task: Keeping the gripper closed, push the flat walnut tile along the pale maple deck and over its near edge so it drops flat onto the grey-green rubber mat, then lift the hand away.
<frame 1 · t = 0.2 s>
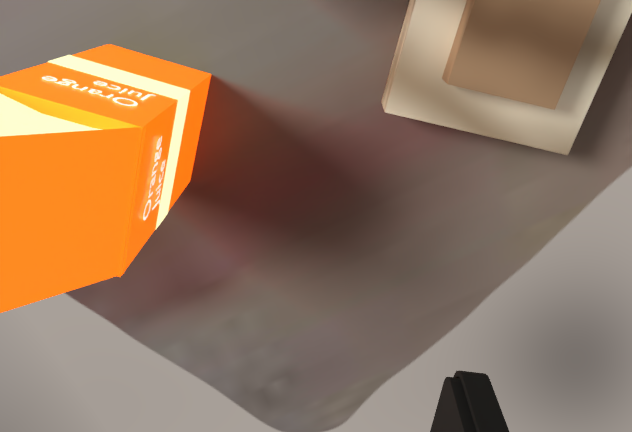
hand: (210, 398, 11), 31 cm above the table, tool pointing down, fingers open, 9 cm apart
tile: (518, 19, 33), point 3 cm above the table, touching deck
orange juice: (152, 115, 40), on the table
deck: (507, 8, 35), on the table
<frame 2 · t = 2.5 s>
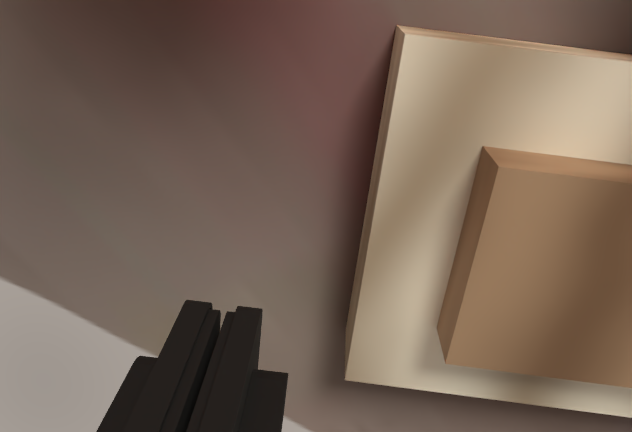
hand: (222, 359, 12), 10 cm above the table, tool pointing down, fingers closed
tile: (589, 261, 18), point 3 cm above the table, touching deck
deck: (568, 223, 21), on the table
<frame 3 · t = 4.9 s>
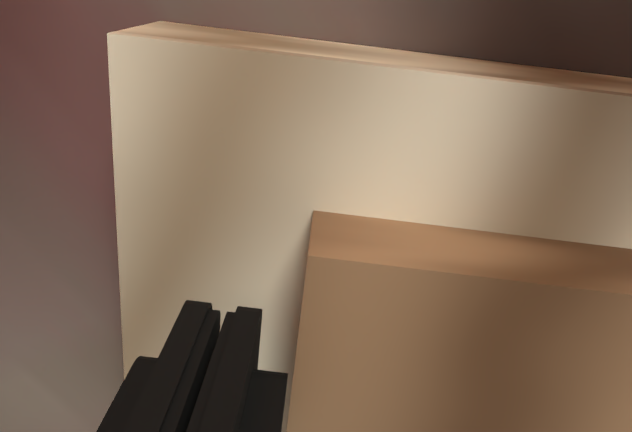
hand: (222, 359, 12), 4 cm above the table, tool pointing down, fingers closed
tile: (484, 367, 13), point 3 cm above the table, touching deck, gripper
deck: (435, 289, 15), on the table
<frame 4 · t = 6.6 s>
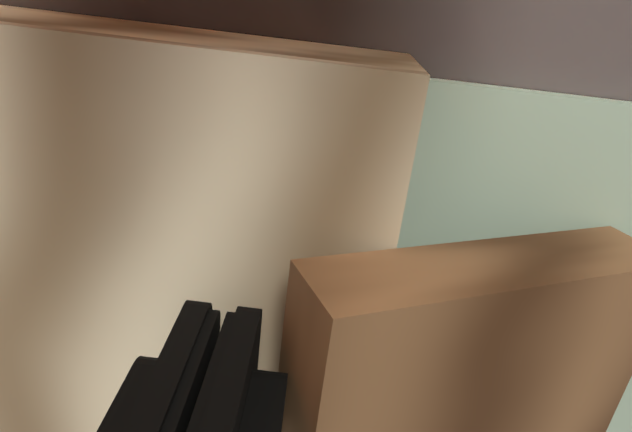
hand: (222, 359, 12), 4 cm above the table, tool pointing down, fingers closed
mat: (614, 312, 15), on the table
tile: (441, 361, 13), point 2 cm above the table, tilted 25°
deck: (94, 252, 15), on the table
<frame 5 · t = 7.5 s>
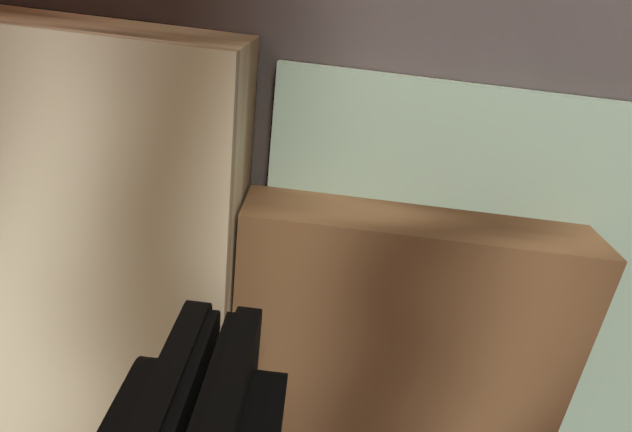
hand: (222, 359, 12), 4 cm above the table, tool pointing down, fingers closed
mat: (491, 297, 15), on the table
tile: (397, 314, 15), resting on mat
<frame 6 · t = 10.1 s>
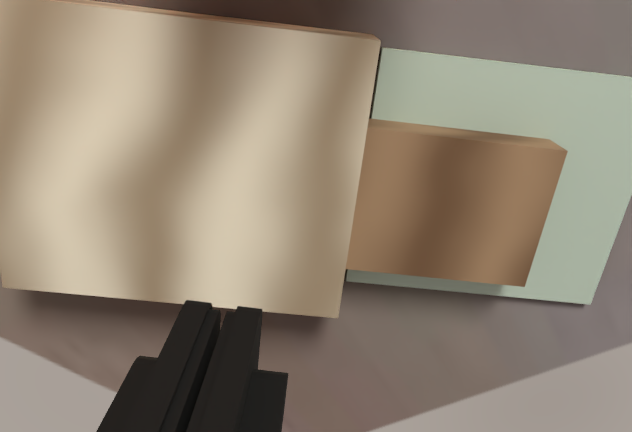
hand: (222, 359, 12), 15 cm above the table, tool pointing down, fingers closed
mat: (494, 186, 27), on the table
tile: (441, 197, 26), resting on mat
deck: (189, 154, 26), on the table
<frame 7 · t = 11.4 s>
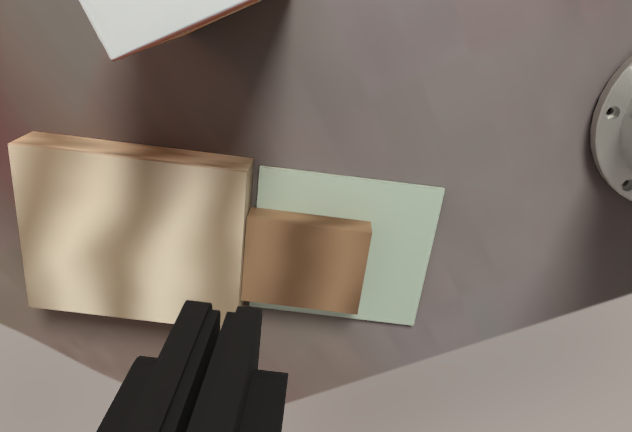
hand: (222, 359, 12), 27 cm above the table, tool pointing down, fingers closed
mat: (341, 248, 41), on the table
tile: (305, 255, 41), resting on mat
deck: (145, 225, 41), on the table
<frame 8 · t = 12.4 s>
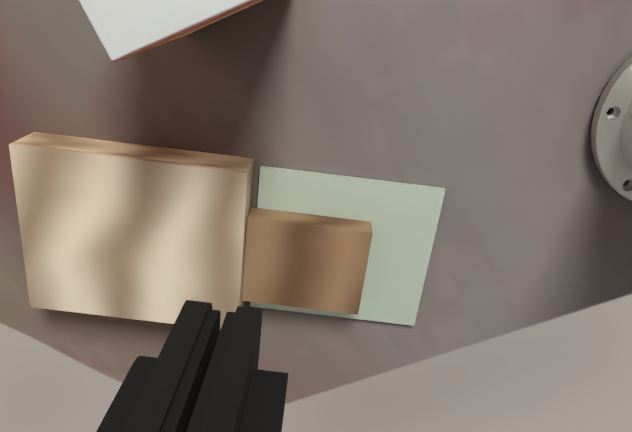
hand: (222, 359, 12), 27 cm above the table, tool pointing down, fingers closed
mat: (341, 249, 41), on the table
tile: (306, 255, 41), resting on mat
deck: (146, 225, 41), on the table
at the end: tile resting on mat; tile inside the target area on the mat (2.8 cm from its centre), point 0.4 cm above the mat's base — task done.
